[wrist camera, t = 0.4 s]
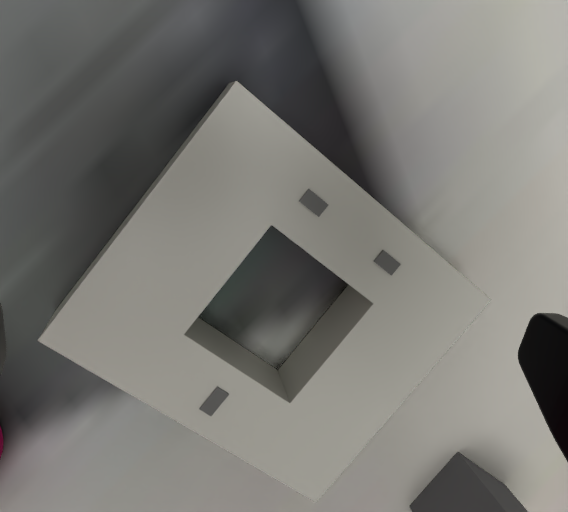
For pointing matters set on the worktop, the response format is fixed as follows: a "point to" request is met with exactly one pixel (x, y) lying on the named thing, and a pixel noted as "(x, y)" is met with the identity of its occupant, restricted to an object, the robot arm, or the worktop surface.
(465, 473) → the plug
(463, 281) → the socket plate
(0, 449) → the pepper mill
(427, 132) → the worktop surface
